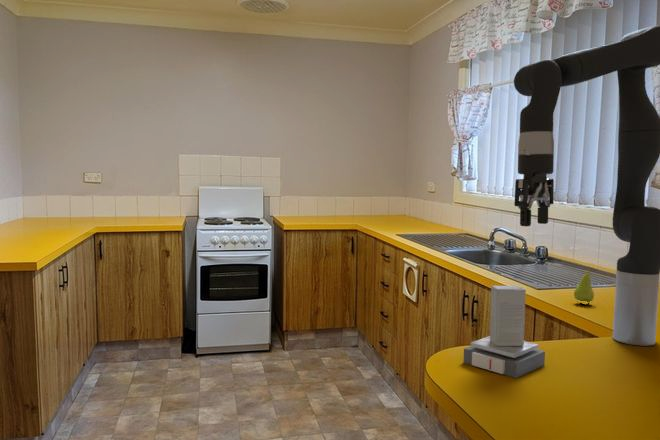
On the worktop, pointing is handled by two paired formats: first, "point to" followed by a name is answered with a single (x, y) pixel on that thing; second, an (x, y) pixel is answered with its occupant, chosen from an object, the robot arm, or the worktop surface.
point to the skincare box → (507, 315)
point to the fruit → (584, 289)
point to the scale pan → (504, 347)
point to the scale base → (504, 361)
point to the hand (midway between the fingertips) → (534, 224)
